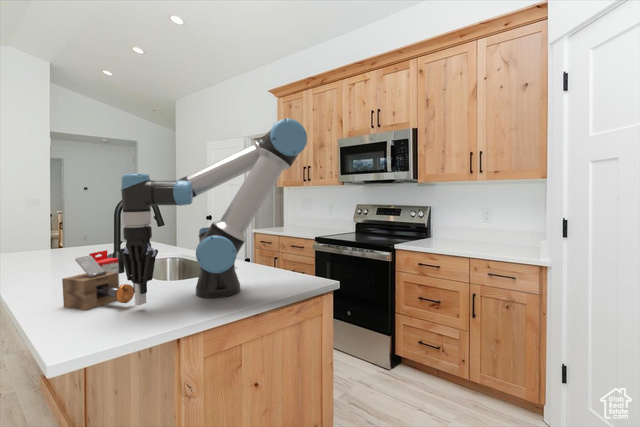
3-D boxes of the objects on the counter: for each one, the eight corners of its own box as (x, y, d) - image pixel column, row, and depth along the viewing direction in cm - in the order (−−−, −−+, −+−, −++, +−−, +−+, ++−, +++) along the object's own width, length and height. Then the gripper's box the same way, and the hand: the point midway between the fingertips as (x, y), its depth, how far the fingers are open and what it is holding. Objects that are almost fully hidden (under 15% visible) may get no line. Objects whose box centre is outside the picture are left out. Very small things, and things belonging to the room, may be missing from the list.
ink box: (102, 296, 125) (99, 254, 124) (89, 295, 126) (87, 253, 125) (120, 289, 133) (118, 250, 132) (108, 289, 134) (106, 249, 133)
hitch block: (119, 299, 120) (117, 273, 119) (86, 310, 109) (84, 281, 109) (97, 296, 124) (96, 270, 123) (63, 307, 113) (62, 278, 112)
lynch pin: (134, 300, 114) (133, 282, 113) (118, 305, 108) (117, 287, 108) (108, 296, 118) (108, 279, 117) (92, 301, 112) (91, 284, 112)
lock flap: (105, 274, 117) (107, 272, 117) (89, 278, 112) (90, 276, 112) (90, 257, 119) (92, 254, 119) (73, 260, 114) (75, 257, 114)
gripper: (164, 225, 108) (167, 302, 110) (131, 224, 113) (135, 298, 115) (143, 227, 102) (147, 310, 103) (110, 226, 106) (114, 305, 108)
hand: (140, 303), depth 109 cm, fingers closed
